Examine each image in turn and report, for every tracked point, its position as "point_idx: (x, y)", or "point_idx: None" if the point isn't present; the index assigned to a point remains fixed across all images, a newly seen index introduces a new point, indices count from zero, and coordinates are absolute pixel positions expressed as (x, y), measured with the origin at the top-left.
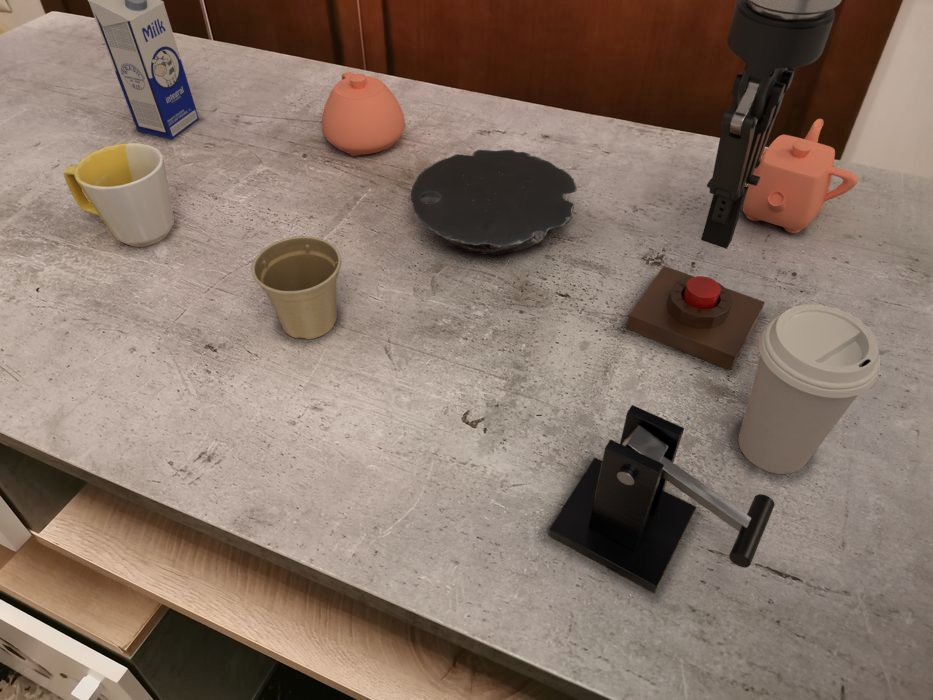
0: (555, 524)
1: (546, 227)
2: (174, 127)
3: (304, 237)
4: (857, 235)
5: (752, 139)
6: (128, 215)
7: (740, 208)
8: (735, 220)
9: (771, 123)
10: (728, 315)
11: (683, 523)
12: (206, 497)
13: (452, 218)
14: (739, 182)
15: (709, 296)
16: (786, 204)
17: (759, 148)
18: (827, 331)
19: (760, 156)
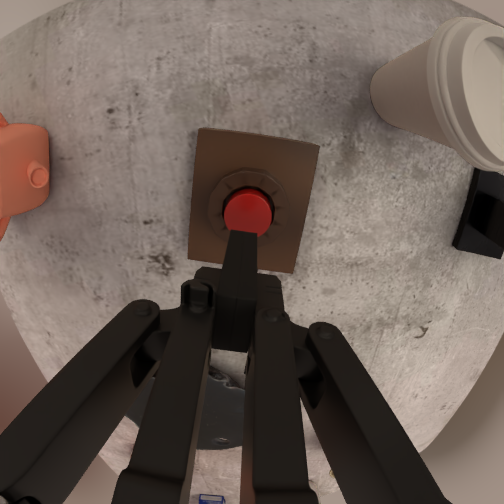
0: (498, 256)
1: (215, 381)
2: (218, 499)
3: (331, 475)
4: (29, 78)
5: (399, 495)
6: (318, 499)
7: (239, 270)
8: (256, 261)
9: (85, 397)
10: (246, 166)
11: (493, 174)
12: (462, 394)
13: (241, 429)
14: (362, 371)
15: (265, 205)
16: (30, 160)
17: (187, 379)
18: (498, 87)
19: (135, 321)
